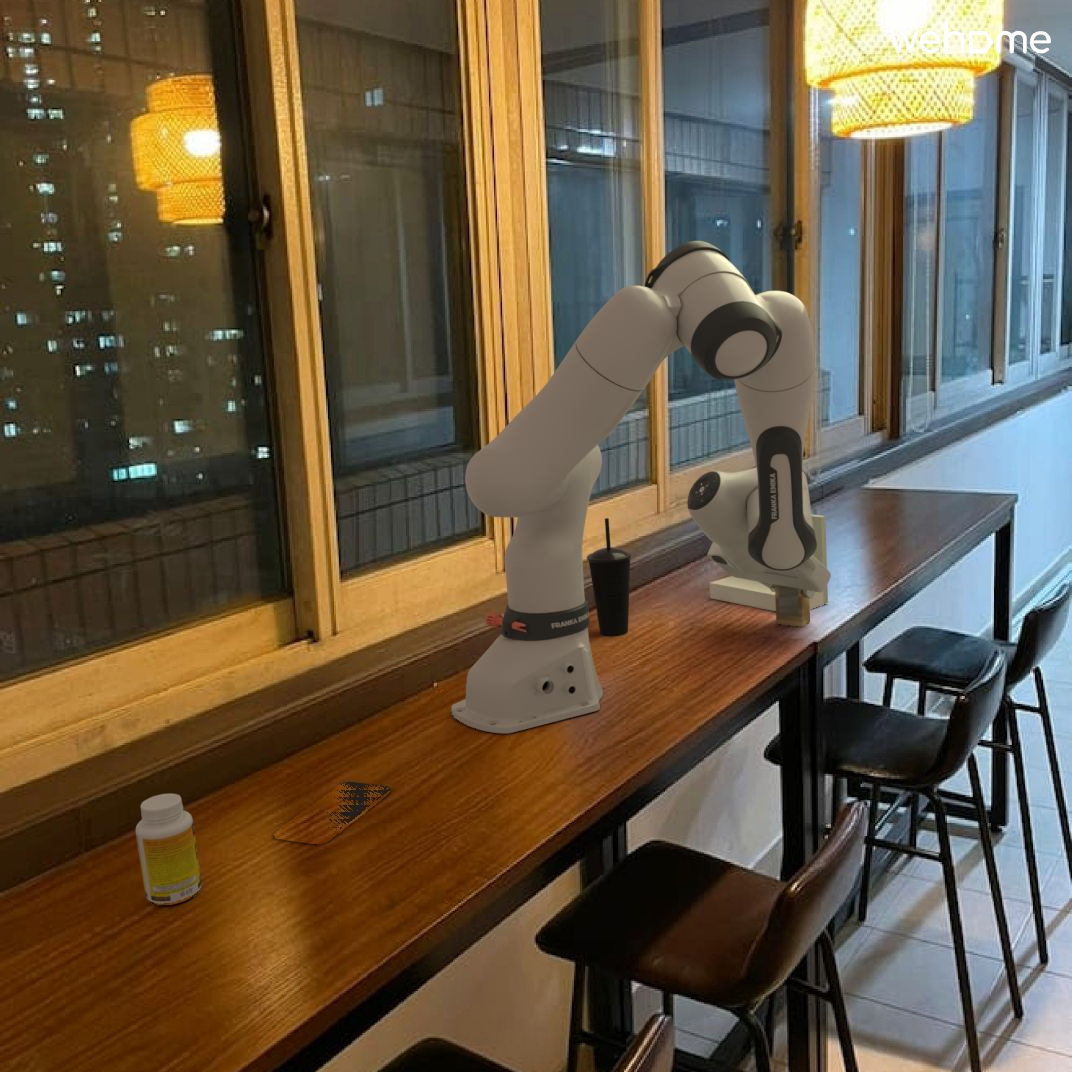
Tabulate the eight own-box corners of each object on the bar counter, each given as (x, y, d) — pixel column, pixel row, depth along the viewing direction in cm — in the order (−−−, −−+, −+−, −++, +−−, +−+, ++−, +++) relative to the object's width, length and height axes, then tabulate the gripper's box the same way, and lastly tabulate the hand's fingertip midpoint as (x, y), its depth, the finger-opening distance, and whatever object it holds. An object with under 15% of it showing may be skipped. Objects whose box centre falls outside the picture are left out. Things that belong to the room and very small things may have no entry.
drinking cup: (633, 638, 193) (626, 522, 189) (589, 638, 194) (580, 523, 190) (638, 625, 200) (631, 513, 196) (595, 626, 202) (587, 515, 198)
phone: (268, 835, 128) (343, 780, 141) (269, 842, 128) (343, 786, 141) (323, 843, 125) (394, 786, 138) (324, 850, 125) (395, 792, 138)
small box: (802, 627, 191) (800, 569, 189) (776, 624, 194) (773, 567, 192) (810, 622, 194) (808, 565, 192) (783, 619, 196) (781, 563, 195)
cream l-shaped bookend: (794, 615, 199) (791, 525, 195) (710, 598, 214) (705, 514, 211) (828, 603, 204) (825, 516, 201) (743, 587, 220) (739, 506, 217)
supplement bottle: (212, 892, 116) (199, 799, 114) (161, 914, 113) (146, 818, 111) (187, 875, 121) (174, 785, 119) (137, 896, 117) (122, 803, 115)
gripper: (813, 537, 178) (853, 584, 186) (716, 524, 194) (757, 568, 202) (795, 570, 176) (837, 617, 184) (699, 554, 192) (741, 598, 200)
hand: (794, 591), depth 193 cm, fingers closed on small box, 5 cm apart
